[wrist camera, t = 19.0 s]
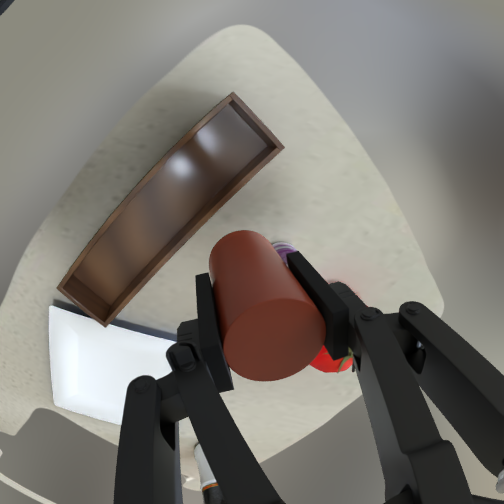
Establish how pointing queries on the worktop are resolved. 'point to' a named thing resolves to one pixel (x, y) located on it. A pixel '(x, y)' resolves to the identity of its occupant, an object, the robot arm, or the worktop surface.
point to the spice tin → (262, 309)
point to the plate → (99, 363)
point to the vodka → (207, 480)
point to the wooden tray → (169, 207)
